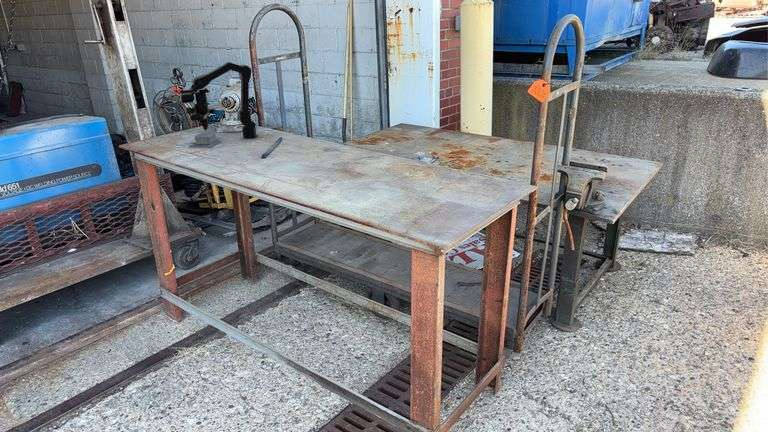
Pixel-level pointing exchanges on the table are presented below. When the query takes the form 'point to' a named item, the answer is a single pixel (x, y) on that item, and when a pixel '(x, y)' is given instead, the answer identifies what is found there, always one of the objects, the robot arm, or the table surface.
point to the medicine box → (205, 138)
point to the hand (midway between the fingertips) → (205, 130)
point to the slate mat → (205, 145)
